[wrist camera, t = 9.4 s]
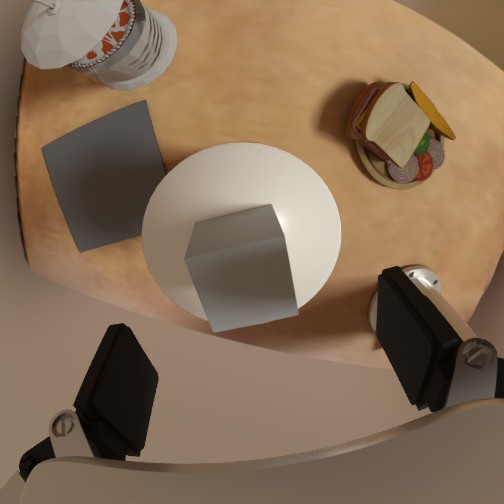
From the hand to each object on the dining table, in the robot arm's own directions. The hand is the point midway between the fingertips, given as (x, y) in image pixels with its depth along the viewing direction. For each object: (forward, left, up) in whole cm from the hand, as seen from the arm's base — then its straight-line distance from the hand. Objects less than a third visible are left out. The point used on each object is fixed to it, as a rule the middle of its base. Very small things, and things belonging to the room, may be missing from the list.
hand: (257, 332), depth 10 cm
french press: (+19, +7, -22) cm, 30 cm away
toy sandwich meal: (+2, -18, -23) cm, 29 cm away
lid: (0, 0, -7) cm, 7 cm away
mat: (+4, +14, -22) cm, 27 cm away
